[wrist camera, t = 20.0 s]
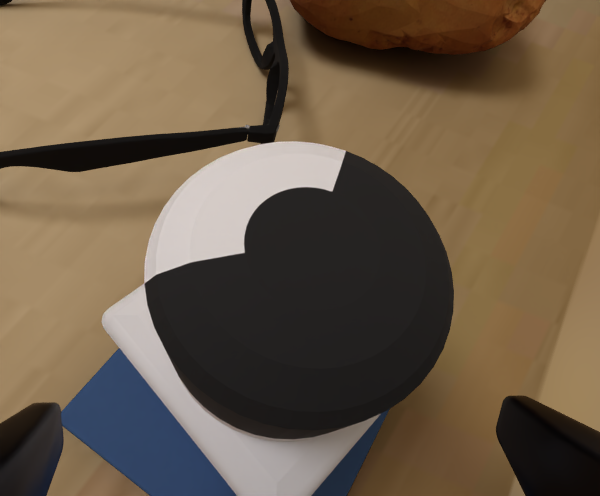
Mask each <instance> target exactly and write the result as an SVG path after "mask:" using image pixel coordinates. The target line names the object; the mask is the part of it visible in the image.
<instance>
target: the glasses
mask: <svg viewBox="0 0 600 496" xmlns="http://www.w3.org/2000/svg"><path fill="white" fill-rule="evenodd" d="M11 1H12V0H0V5H4V4H7V3H9V2H11ZM265 1H266V3H267V6H268V9H269V11H270V15H271V19H272V26H273V42H271V43H270V44H268V45H267V47H266V49H265V51H264V53H263V56H262V55H261V53H260V51H259V48H258V46H257V43H256V41H255V38H254V34H253V31H252V27H251V21H250V12H251V2H252V0H243V2H242V14H243V25H244V31H245V35H246V39H247V42H248V45H249V48H250V51H251V53H252V56H253V58H254V60H255V62H256V64H257V65H258V66H259V67H260V68H261V69H265V70H269V69H270V71H269V75H268V79H267V89H266V94H267V101H266V108H265V115H264V122H263V125H258V126H249V125H246V126H245V127H239V128H229V129H219V130H209V131H198V132H185V133H170V134H155V135H144V136H132V137H121V138H112V139H102V140H93V141H84V142H74V143H65V144H57V145H49V146H41V147H34V148H27V149H19V150H12V151H4V152H0V169H1V168H4V167H10V166H28V167H40V168H47V169H54V170H61V171H68V172H81V171H87V170H92V169H97V168H103V167H109V166H115V165H121V164H126V163H132V162H137V161H142V160H148V159H153V158H158V157H163V156H169V155H175V154H180V153H186V152H192V151H197V150H202V149H207V148H212V147H217V146H222V145H226V144H231V143H236V142H241V141H245V140H247V135H248V142H257V143H261V144H266V143H273V142H274V140H275V137H276V133H277V131H278V129H279V122H280V119H281V115H282V111H283V107H284V102H285V97H286V91H287V85H288V70H289V68H288V58H287V53H286V49H285V44H284V38H283V32H282V26H281V21H280V16H279V12H278V8H277V5H276V2H275V0H265ZM277 91H278V93H277ZM276 95H277V97H276ZM275 100H276V101H275ZM274 104H275V105H274Z"/></svg>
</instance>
